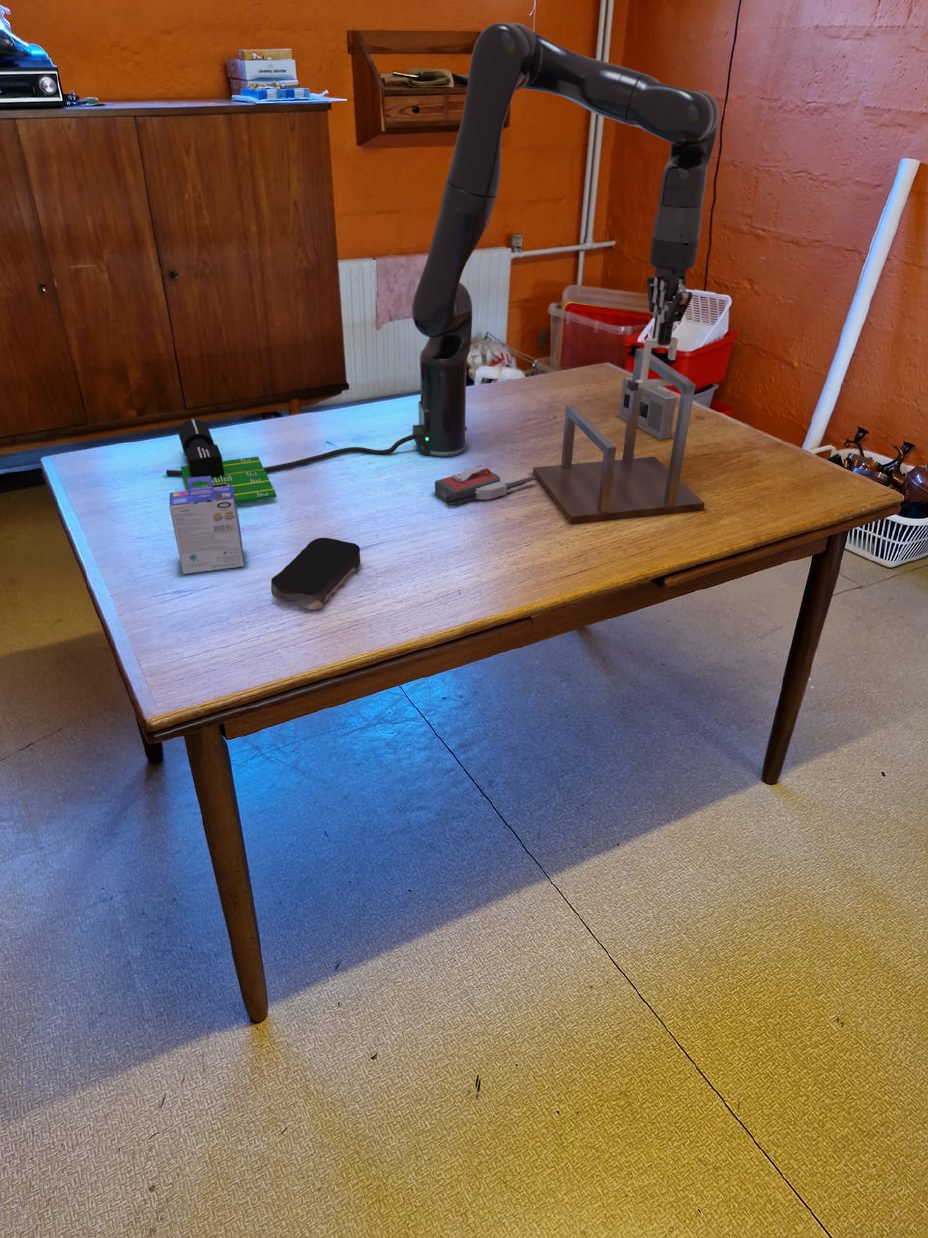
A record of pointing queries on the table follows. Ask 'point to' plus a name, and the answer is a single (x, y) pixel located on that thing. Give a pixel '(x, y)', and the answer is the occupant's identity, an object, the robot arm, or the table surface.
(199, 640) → the table surface
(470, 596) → the table surface
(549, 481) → the rack
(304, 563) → the black sponge
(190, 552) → the ink cartridge box
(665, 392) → the cassette player
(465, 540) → the table surface
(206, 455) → the electronic board model
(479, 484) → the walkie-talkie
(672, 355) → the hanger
